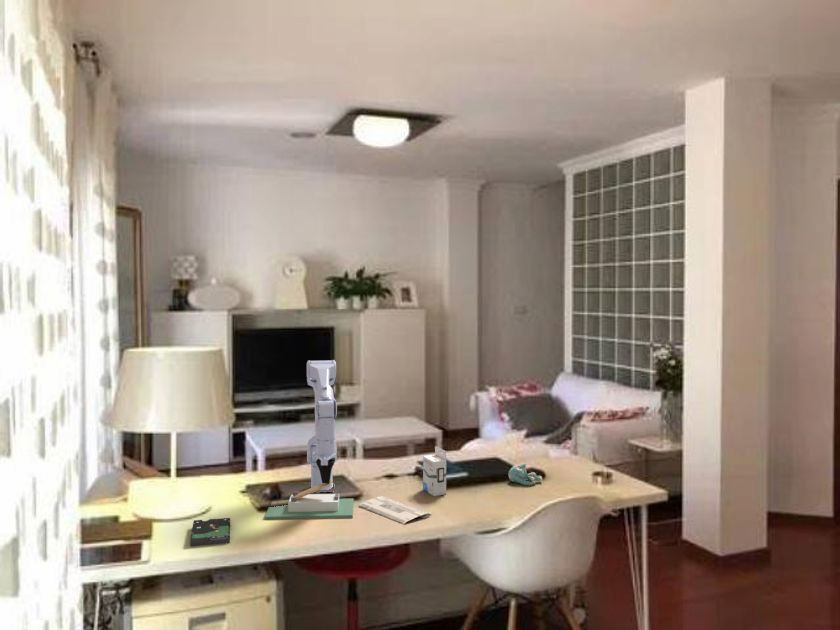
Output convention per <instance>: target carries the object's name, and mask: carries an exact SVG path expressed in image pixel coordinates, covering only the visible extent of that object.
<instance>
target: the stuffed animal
mask: <svg viewBox="0 0 840 630" xmlns="http://www.w3.org/2000/svg"><path fill="white" fill-rule="evenodd" d="M526 467H527V465H526V463H522V464H521V465H513V466H512V467H511V468H510V469H509V470H508V478H509V480H510V481H511V482H513V483H515V484H521V485H522V486H533V485H535V484H536V481H537V482H542V481H543V477H542V476H541V475H537V473H536V472H530V473H528V472H527V470H526Z"/></svg>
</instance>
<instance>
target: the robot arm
mask: <svg viewBox="0 0 840 630" xmlns="http://www.w3.org/2000/svg"><path fill="white" fill-rule="evenodd" d="M336 376H337V363H336V360H335V359H332V360H327V359H326V360H307V362H306V382H307V386H310V387H312V388H313V392H314V425H315V426H314V428H315V429H314V430H315V431H314V432H315V434H314V435H313V436H312V437H310V439H308V440H307V443H306V444H307V447H306V460H307V461H306V462H307V463H308V464H309V465H310V471H311V472H310V475H311V476H310V487H311V488H312V487H314V486H317V485H319V484H322V483H329V481H330V480H331V485H330V486H328V487H325V488H323V489H321V490H329V489H331V488H332V487H333V484H334V483H333V475H334V474H333V468H334V467H333V466H335V465H334V464H335V463H337V460H338V451H337V450H338V448H337V447H338V446H337V440H336V419H337V414H338V404H337V400H336V398H335V397H334V396H335V395H334V390H333V387H332V386H333V385H335V382H336V378H337V377H336Z"/></svg>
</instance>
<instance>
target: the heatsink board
mask: <svg viewBox="0 0 840 630" xmlns="http://www.w3.org/2000/svg"><path fill="white" fill-rule="evenodd" d="M298 493H299V491H292V494H291V495H290V497H289V499H288V500H289V502H288V505H284V506H283V505H282V506H276V507H275V506H274V507H269V506H268V507H267V511H266V513H265V516H264V520H299V519H301V520H303V519H306V520H307V519H309V520H310V519H346V518H347V519H349V518H352V519H353V517H354V516H353V515H354V504H355V503H354V502H355V499H354V498H355V497H354V498H340V493H337V492H336V493H311V494H308V495H306V496H304V497H301V498H299V499H297V497H294V495H295V494H298Z"/></svg>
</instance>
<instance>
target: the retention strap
mask: <svg viewBox="0 0 840 630" xmlns="http://www.w3.org/2000/svg"><path fill="white" fill-rule="evenodd" d="M330 485H331V480H330V481H329V483H322V484H319V485H317V486H314V487H312V488H310V487H309V488H307V489H305V490H303V491H300V492H298V494H295V495H294V497H297V499H299V498H301V497H304V496H306V495H308V494H314V493H313V492H316V491H318V490H321V489H323V488H325V487H328V486H330Z"/></svg>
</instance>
